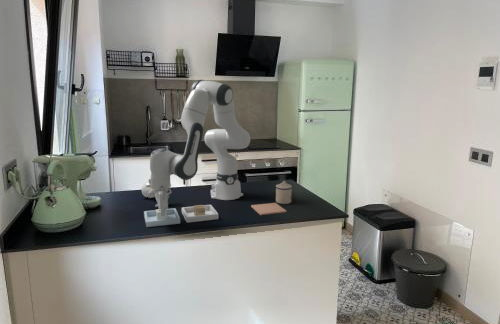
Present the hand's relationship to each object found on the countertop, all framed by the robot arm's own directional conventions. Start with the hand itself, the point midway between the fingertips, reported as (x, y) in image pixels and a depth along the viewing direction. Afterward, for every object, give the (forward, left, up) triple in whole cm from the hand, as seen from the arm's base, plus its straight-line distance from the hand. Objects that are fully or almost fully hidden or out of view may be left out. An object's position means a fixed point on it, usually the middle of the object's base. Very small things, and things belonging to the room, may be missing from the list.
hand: (161, 212), depth 172 cm
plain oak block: (-1, +18, -4) cm, 18 cm away
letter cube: (-1, 0, -4) cm, 4 cm away
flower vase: (-31, 0, -5) cm, 31 cm away
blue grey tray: (-1, 0, -4) cm, 4 cm away
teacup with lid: (-11, +67, -5) cm, 68 cm away
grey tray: (-1, +18, -4) cm, 18 cm away
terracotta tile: (0, +54, -4) cm, 54 cm away
